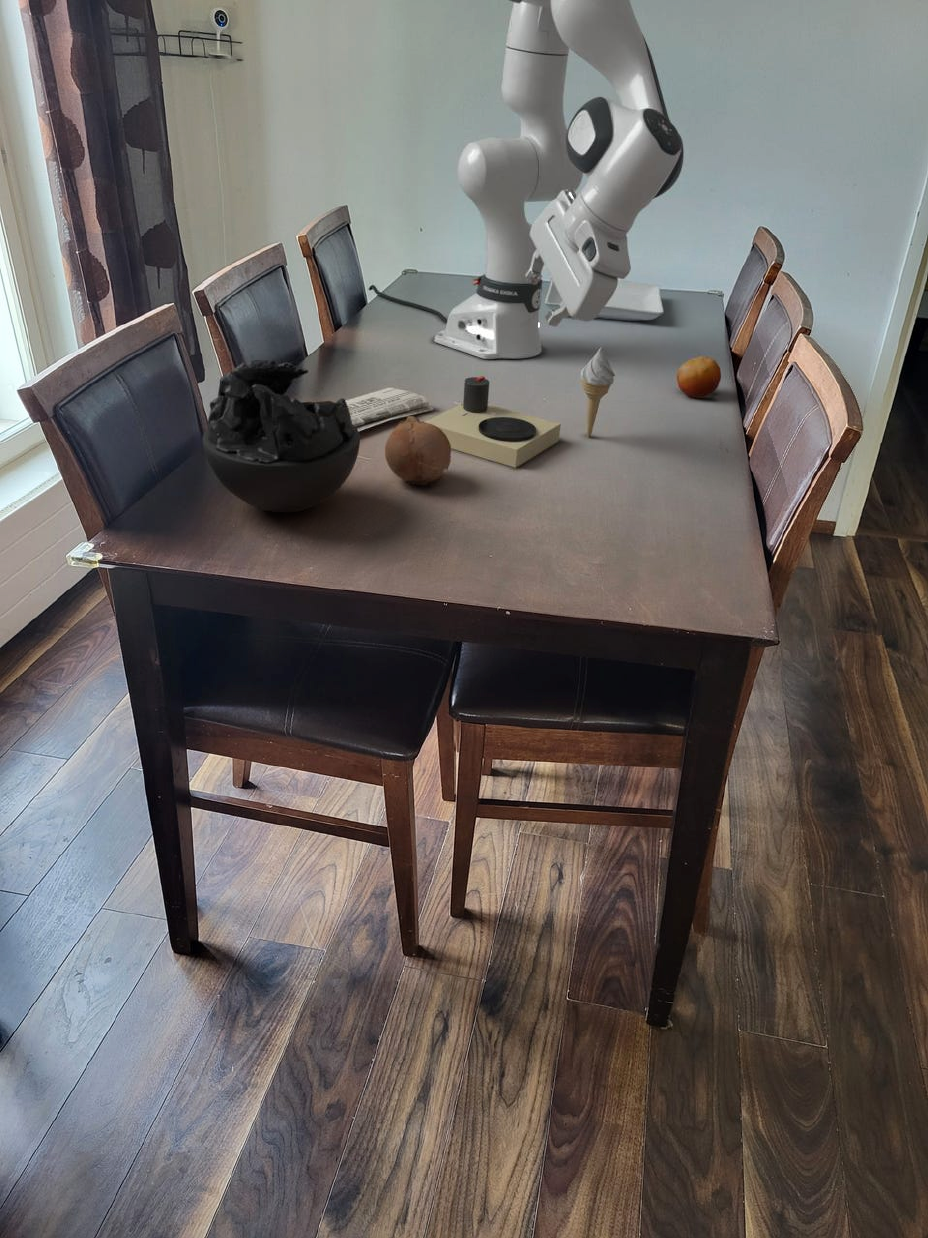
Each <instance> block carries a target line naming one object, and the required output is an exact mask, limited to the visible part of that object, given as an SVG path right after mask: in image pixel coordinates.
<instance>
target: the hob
mask: <svg viewBox="0 0 928 1238" xmlns="http://www.w3.org/2000/svg"><path fill="white" fill-rule="evenodd" d="M489 403H490V401H488V409H487V411H485V412H481V413H473V412H468V411H466V410H464V409H463V403H461V402H457V401H454V402H453V404H454V405H456V406H454V407H453V408H451V409H448V410H446V411H444V412H442V413H440V414H437V415H436V416H434V417H432V418H430V419H428V420H426V421H424V422H425V423H429V424H432V425H435V426H437V427H438V428H439V429H441V430H442V431H443V432H444V434H445V435H446V436H447V438H448V440H449V442H450V445H451V450H455V451H458V452H462V453H465V454H468V455H470V456H471V455H472V456H474V457H478V458H481V459H484V460H488V461H492V462H495V463H498V464H501V465H505V466H508V467H511V468H514V469H516V468H518V467H520V466H521V465H523V464H524V463H527V462H528V461H529V460H531V459H532V458H534V457H535V456H537V455H539V454H540V453H542V452H543V451H545V450H547V449H549V448H550V447H552V446H553V445H555V444H556V443H558V442H559V439H560V432H561V423H560V422H556V421H552V420H548V419H544V418H541V417H537V416H534V415H529V414H526V413H523V412H519V411H515V410H511V409H507V408H505V407H501V406H497V405H493V404H489ZM494 417H511V418H517V419H521V420H525V421H527V422H530V423H531V424H533V425H534V426H535V427H536V435H535V436H534V437H533V438H531V439H529V440H525V441H519V442H505V441H498V440H494V439H490V438H488V437H485V436H484V435H482V434H481V433H480V432H479V430H478V427H479V423H480V422H481V421H483V420H485V419H489V418H494Z"/></svg>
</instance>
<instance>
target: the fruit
mask: <svg viewBox="0 0 928 1238" xmlns="http://www.w3.org/2000/svg"><path fill="white" fill-rule="evenodd" d="M721 380H722V371H721V367H720V364H718V362H717V361H716V360H715V359H714V358H713V357H708V356H699V357H693V358H692V359H689V360H688V361H686V362H685V363H682V365H681V366H680V367H679V368H678V369H677V371H676V381H677V386H678V388H679V389H680V391H681V392H682V393H683V394H684V395H685V396H687V397H689V398H692V399H702V398H704V399H705V398H707V399H708V398H709V399H712V396H713V395H714V393H715V392H716V390H717V389H718V387H719V385H720V382H721Z"/></svg>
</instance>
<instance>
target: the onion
mask: <svg viewBox="0 0 928 1238" xmlns="http://www.w3.org/2000/svg"><path fill="white" fill-rule="evenodd" d="M406 417H407V418H406V419H403V420H400V422H399V424H398V425H397V426H396V427H395V428H394V429H393V430H392V432H391V433H390V434H389V436H388V438H387V440H386V442H385V445H384V446H385V447H384V456H385V461H386V463H387V465H388V467H389V468H390V470H391V471H392V472H393V473H394V474H395V475H396V476H397V477H398V478H399V479H402V480H404V481H405V482H408V483H409V484H412V485H413V486H419V485H420V486H427V485H428V484H430V483H431V484H432V482H434V481H435V480H439V479H440V476H441V475H442V474H443V472H444V471H445V470H448V469H449V467H450V465H451V461H452V460H451V458H452V449H451V445H450V442H449V440H448V438H447V436H446V435H445V434H444V432H443V431H442V430H441V429H439V428H438V427H437V426H435V425H432V424H429V423H425V422H426V421H424V420H423V421H422V420H420V419H419V418H418V417H416V416H414V415H409V416H406Z"/></svg>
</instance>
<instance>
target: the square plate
mask: <svg viewBox="0 0 928 1238" xmlns="http://www.w3.org/2000/svg"><path fill="white" fill-rule="evenodd" d="M562 301H563V300H562V298H561V296H560V294H559V292H558V290H557V288H556V286H555V284H554V282H553V280H552V278H551V277H550V280H549V286H548V290H547V293H546V296H545V300H544V305H545V306H546V307H547V308H548V309H549V311H550V310H551V309H552V310H555V311H556V310H558V309H560V308H561V307H560V303H561V302H562ZM664 313H665V310H664V306H663V302H662V297H661V287H660V286H659V285H658V284H653V283H644V282H635V281H629V280H621V279H620V280H619V279H618V284H617V287H616V290H615V292H614V294H613V295H612V297H611V298H610V300H609V301H608V302H607V304H606V305H605V307H604V308H603V309H602V310H601V312H600V313H599V314H598V315H597V317H596V318H595V319H604V320H605V319H606V320H613V321H614V320H616V321H625V322H639V321H651V320H656V319H657V318H658V317H660V316H662V314H664Z"/></svg>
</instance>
